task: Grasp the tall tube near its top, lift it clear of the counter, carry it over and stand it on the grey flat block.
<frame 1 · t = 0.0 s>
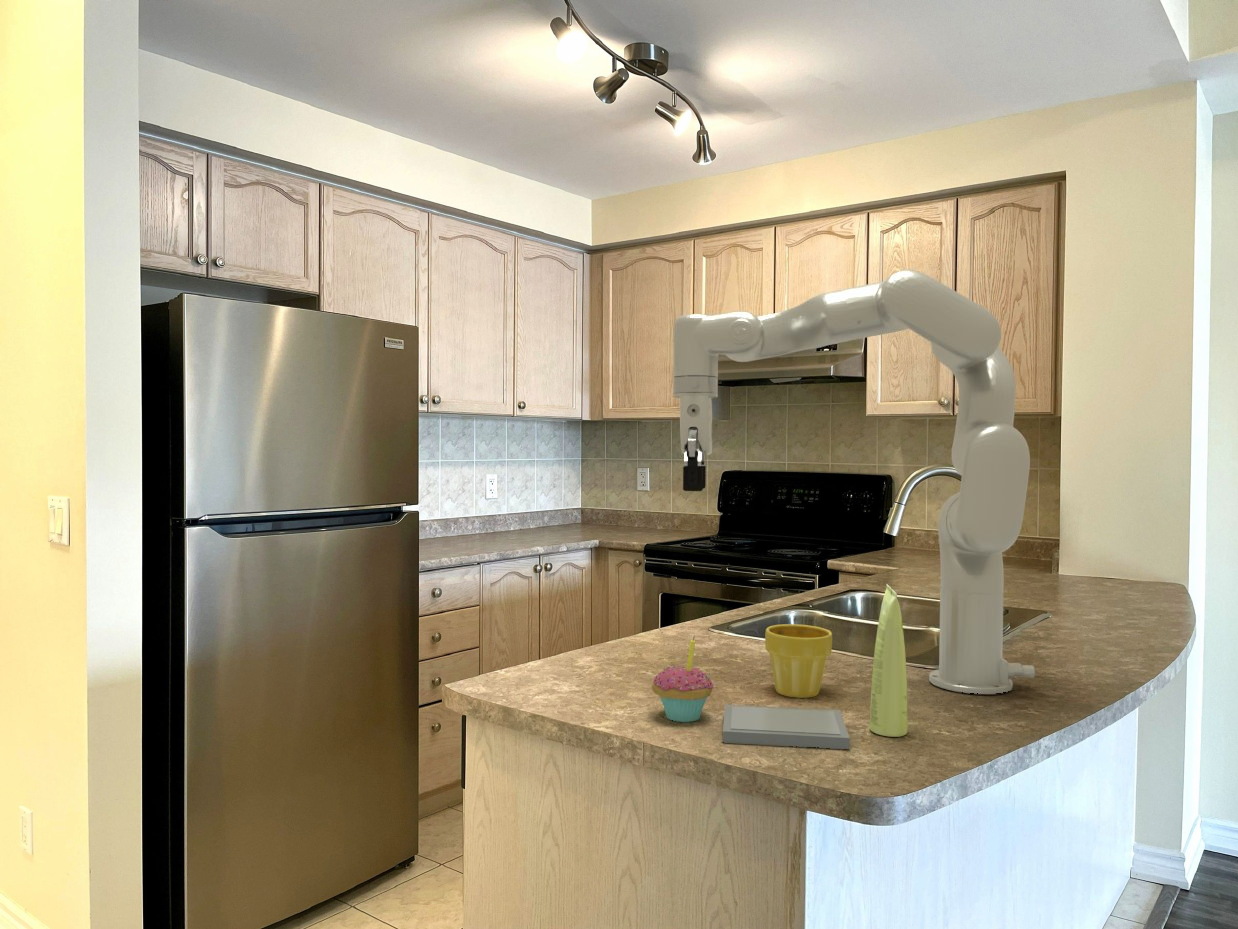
hand: (694, 489, 148), 31 cm above the worktop, tool pointing down, fingers open, 9 cm apart
cupcake: (682, 718, 124), on the worktop
tube: (888, 733, 118), on the worktop
plant pot: (797, 693, 137), on the worktop
grey flat block: (783, 731, 118), on the worktop
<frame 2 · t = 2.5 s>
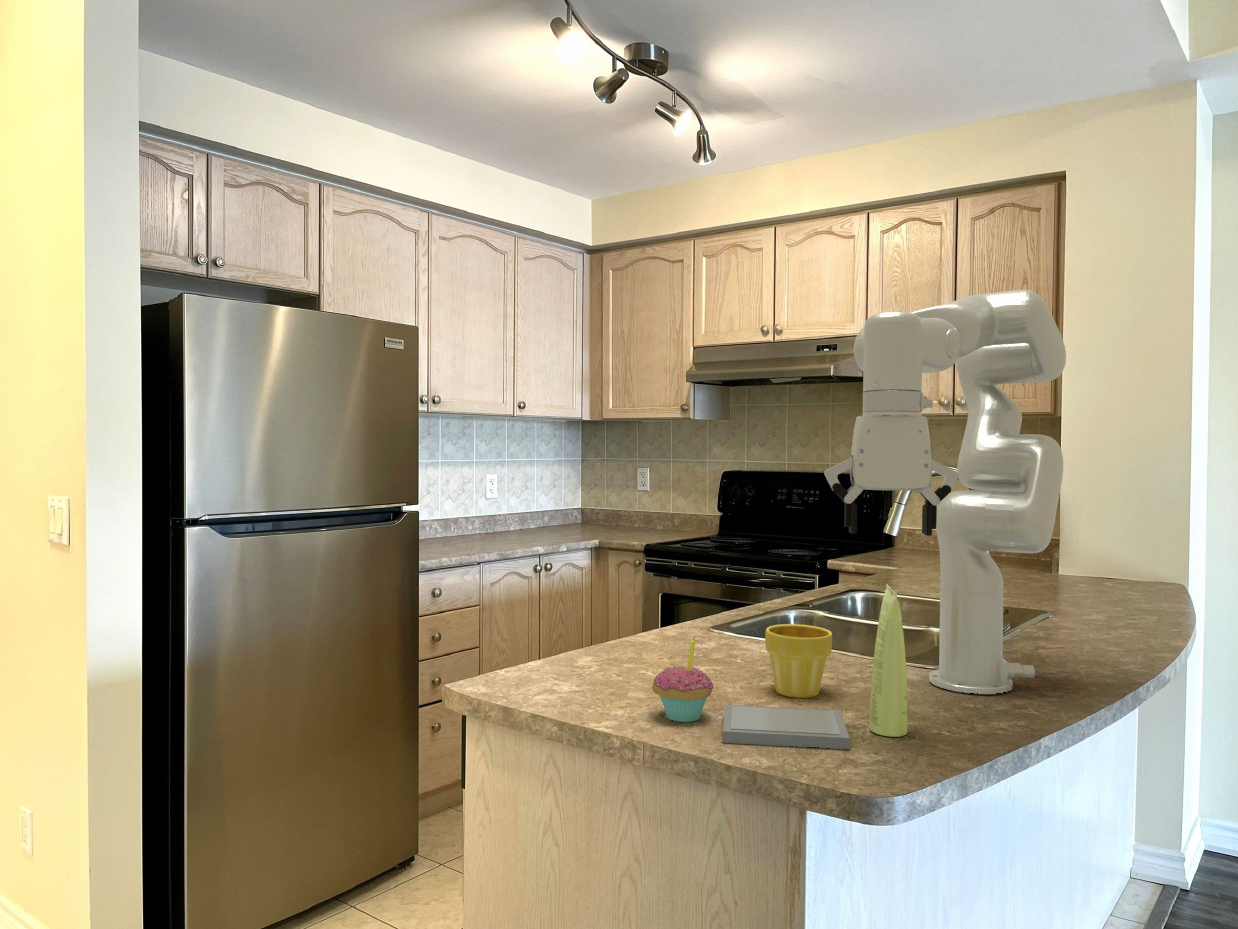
hand: (889, 533, 117), 27 cm above the worktop, tool pointing down, fingers open, 9 cm apart
nothing on the worktop moved.
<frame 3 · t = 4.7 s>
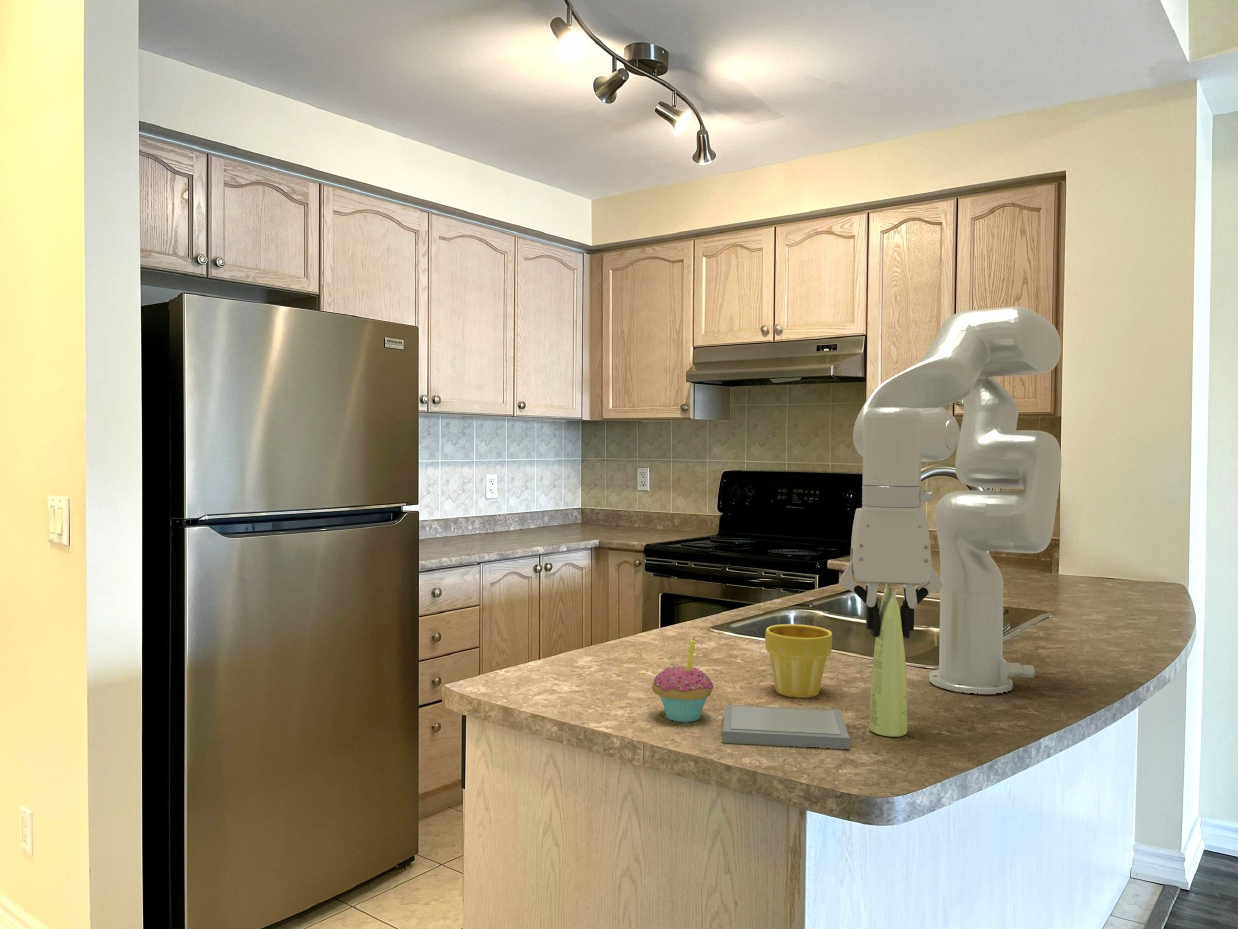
hand: (889, 634, 118), 13 cm above the worktop, tool pointing down, fingers closed on tube, 3 cm apart
tube: (888, 733, 118), on the worktop, touching gripper
everything else where it was.
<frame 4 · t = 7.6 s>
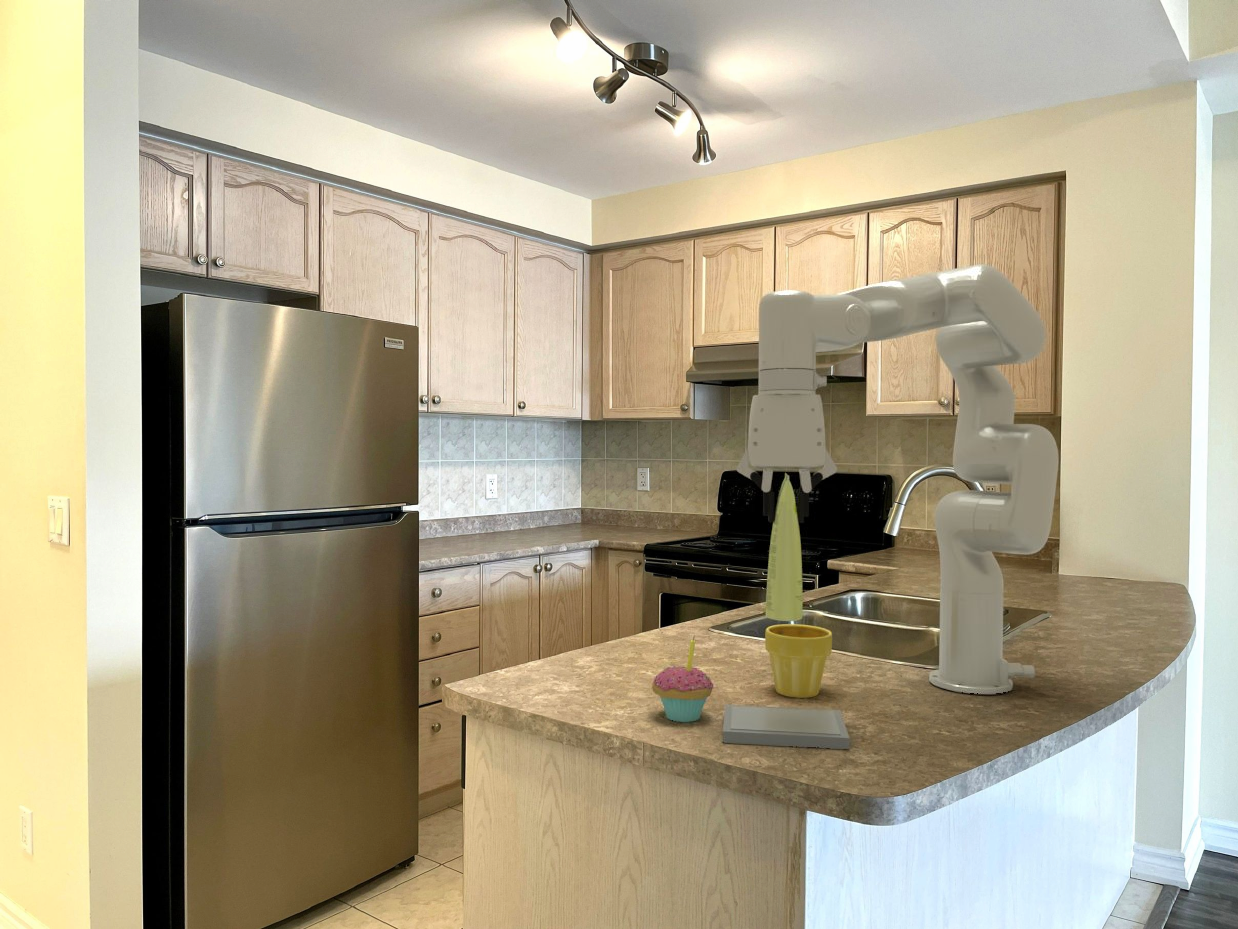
hand: (785, 520, 117), 29 cm above the worktop, tool pointing down, fingers closed on tube, 3 cm apart
tube: (783, 620, 118), point 15 cm above the worktop, touching gripper
everything else where it was.
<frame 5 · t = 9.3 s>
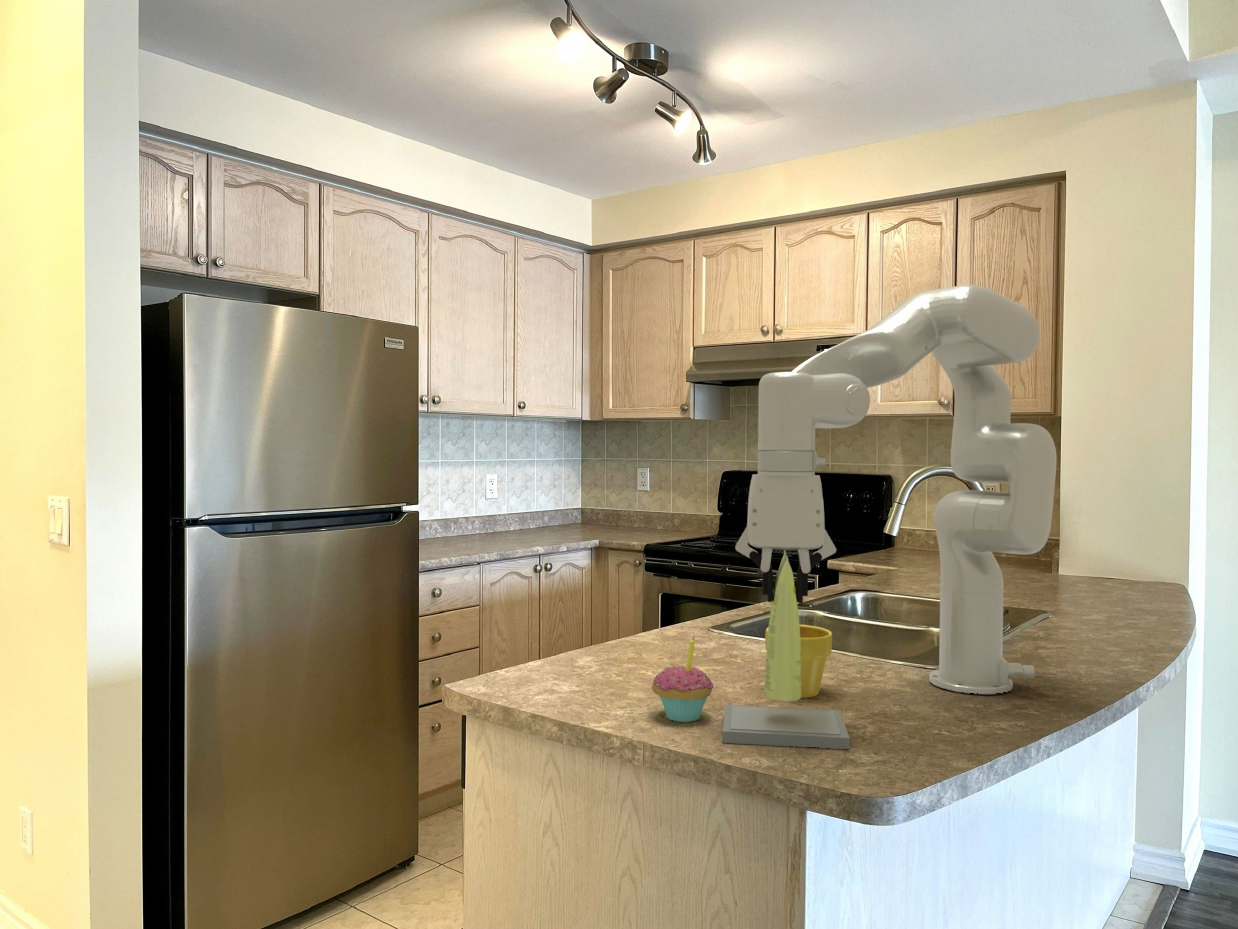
hand: (784, 599, 118), 18 cm above the worktop, tool pointing down, fingers closed on tube, 3 cm apart
tube: (782, 699, 118), point 4 cm above the worktop, touching gripper
everything else where it was.
when the fingers open (16 cm above the worktop, at t = 10.5 s): tube stays where it is, resting on grey flat block.
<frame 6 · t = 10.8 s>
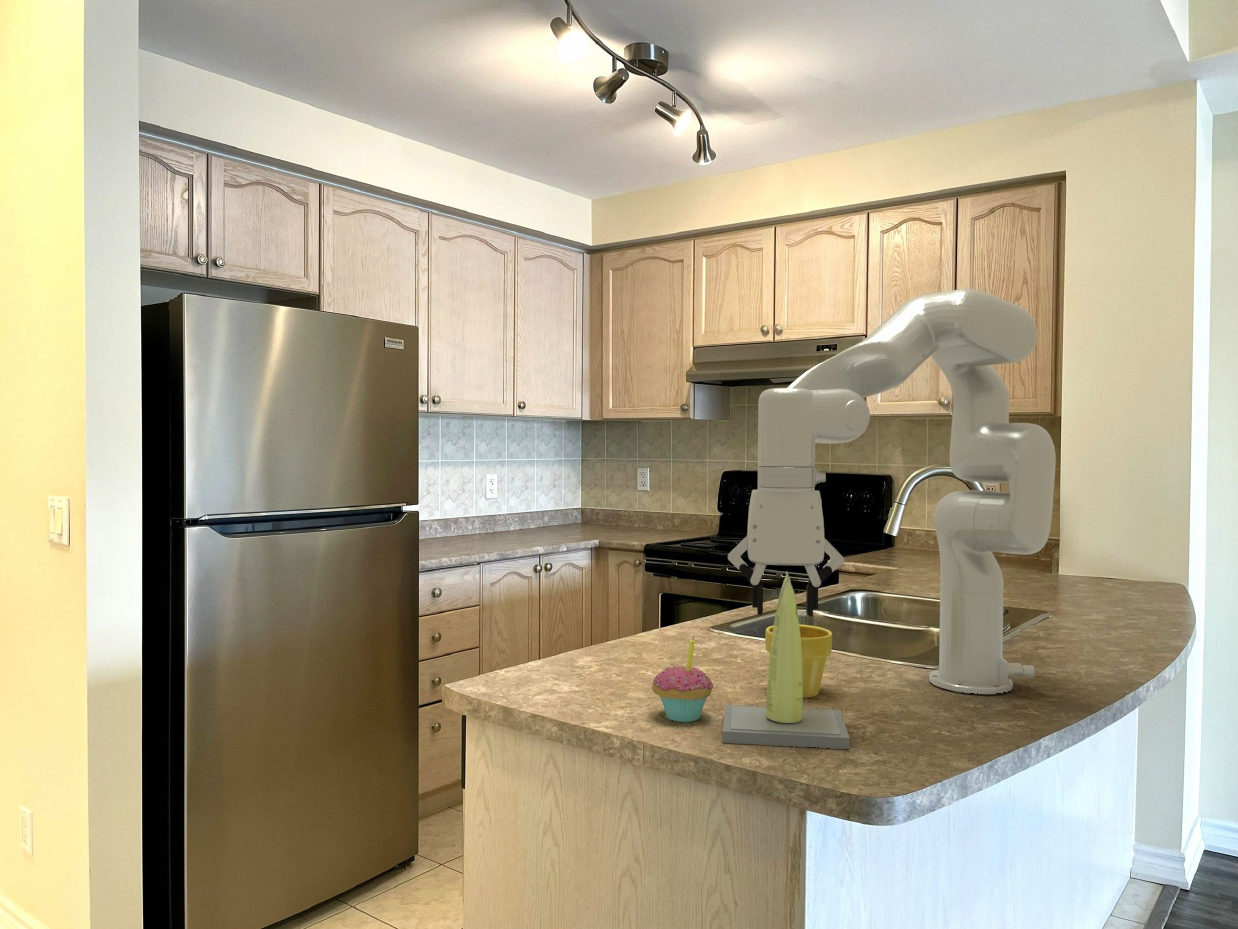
hand: (784, 612, 118), 16 cm above the worktop, tool pointing down, fingers open, 6 cm apart
tube: (784, 720, 118), point 1 cm above the worktop, touching grey flat block
everything else where it was.
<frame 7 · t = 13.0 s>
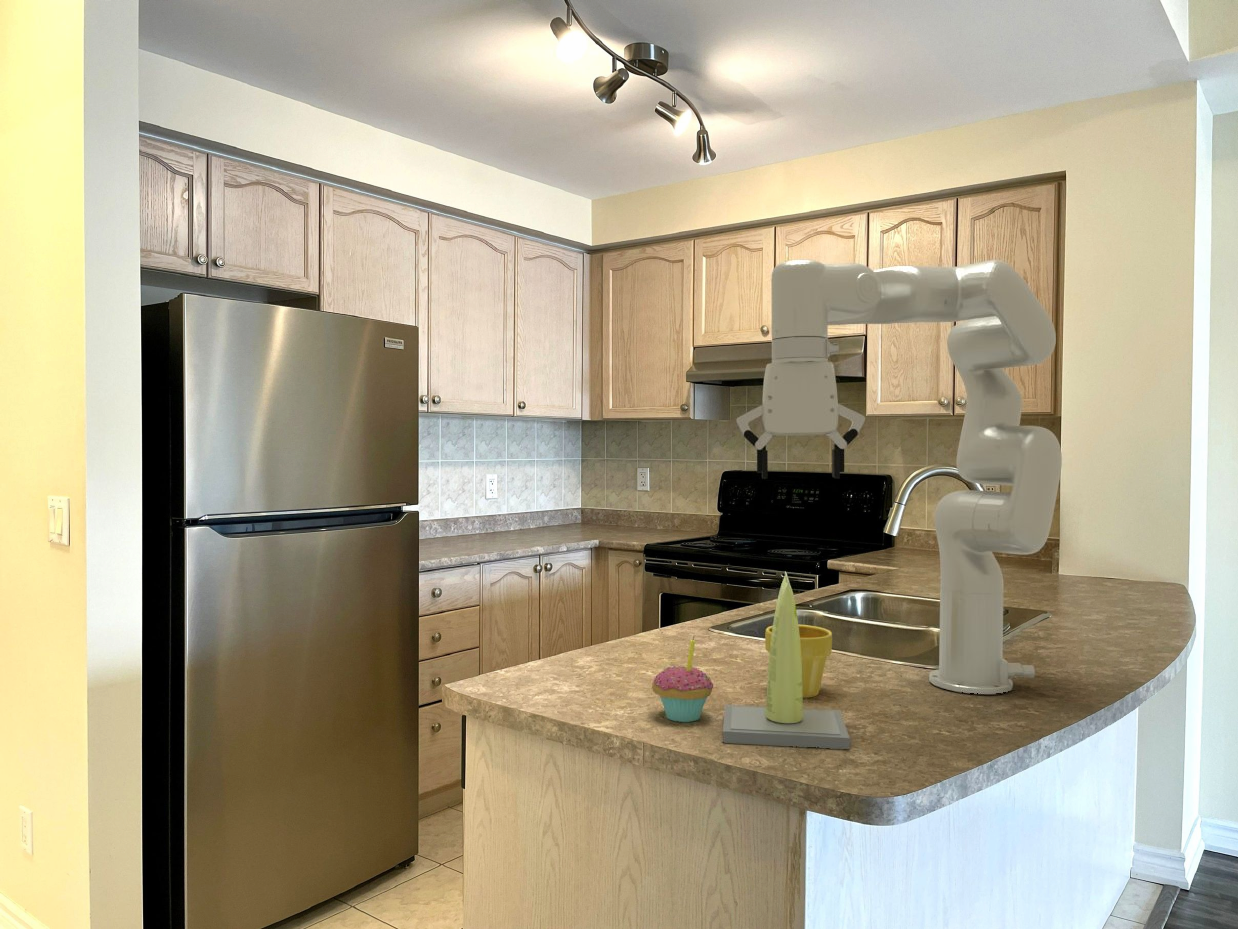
hand: (800, 478, 120), 34 cm above the worktop, tool pointing down, fingers open, 9 cm apart
nothing on the worktop moved.
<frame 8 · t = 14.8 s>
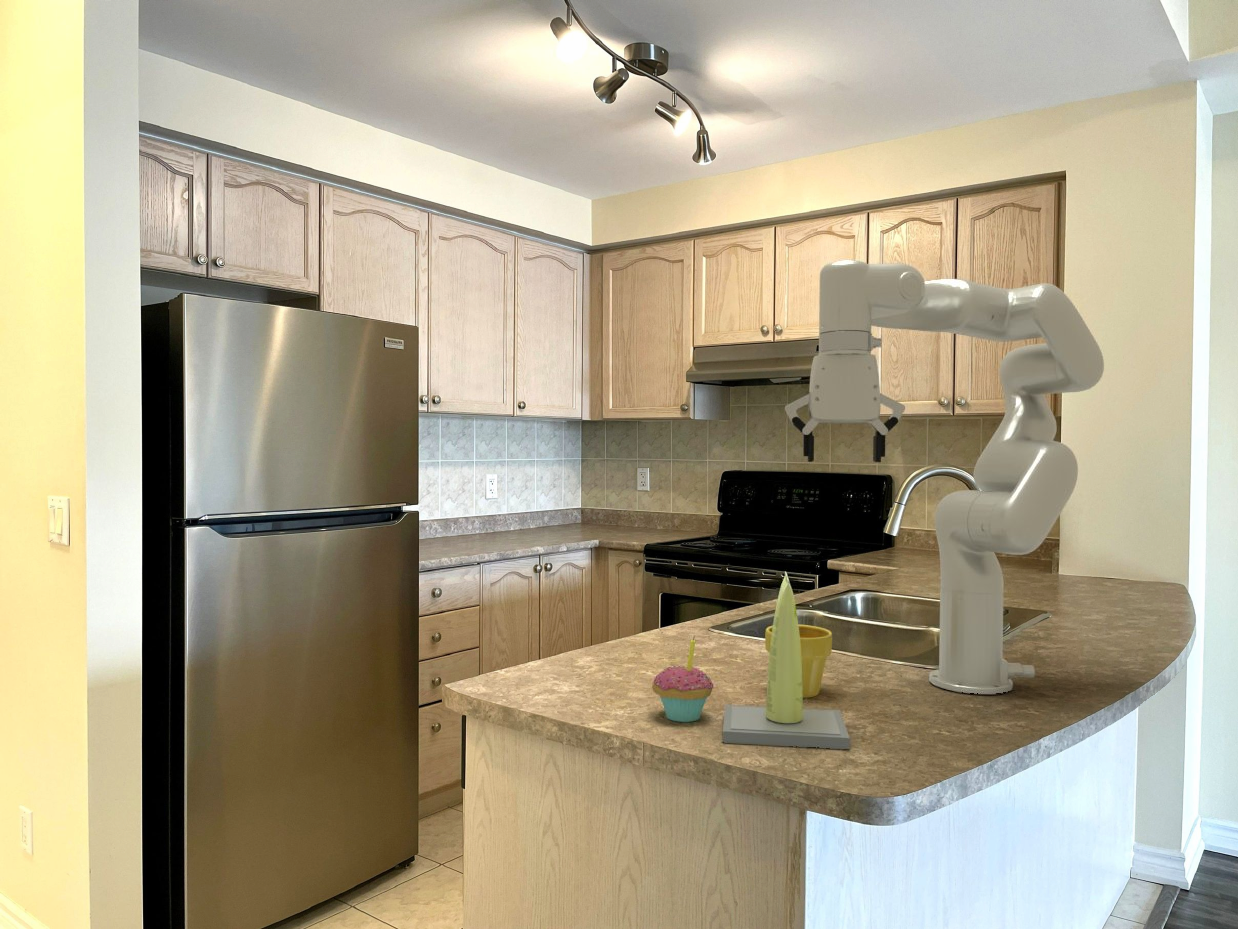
hand: (843, 461, 130), 36 cm above the worktop, tool pointing down, fingers open, 9 cm apart
nothing on the worktop moved.
at the end: tube inside the target area on the grey flat block (0.1 cm from its centre), point 1.4 cm above the grey flat block's base; tube tilted 0°; the gripper is holding nothing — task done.
